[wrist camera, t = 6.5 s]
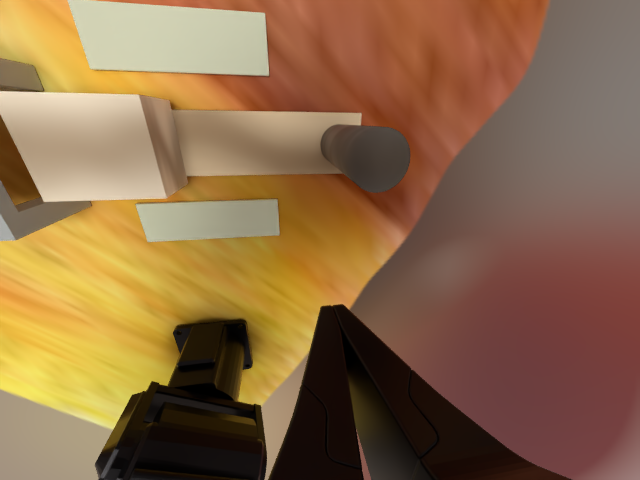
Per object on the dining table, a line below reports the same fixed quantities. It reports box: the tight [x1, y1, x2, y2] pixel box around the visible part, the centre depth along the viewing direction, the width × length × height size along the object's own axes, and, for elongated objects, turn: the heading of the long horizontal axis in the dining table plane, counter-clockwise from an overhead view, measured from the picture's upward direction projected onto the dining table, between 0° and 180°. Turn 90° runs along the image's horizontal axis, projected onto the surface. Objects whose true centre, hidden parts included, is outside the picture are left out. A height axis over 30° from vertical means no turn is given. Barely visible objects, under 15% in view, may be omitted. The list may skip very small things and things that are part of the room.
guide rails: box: [68, 0, 280, 242], centre depth 16 cm, size 14×10×1 cm
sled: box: [0, 91, 410, 202], centre depth 13 cm, size 5×18×8 cm, turn 89°
